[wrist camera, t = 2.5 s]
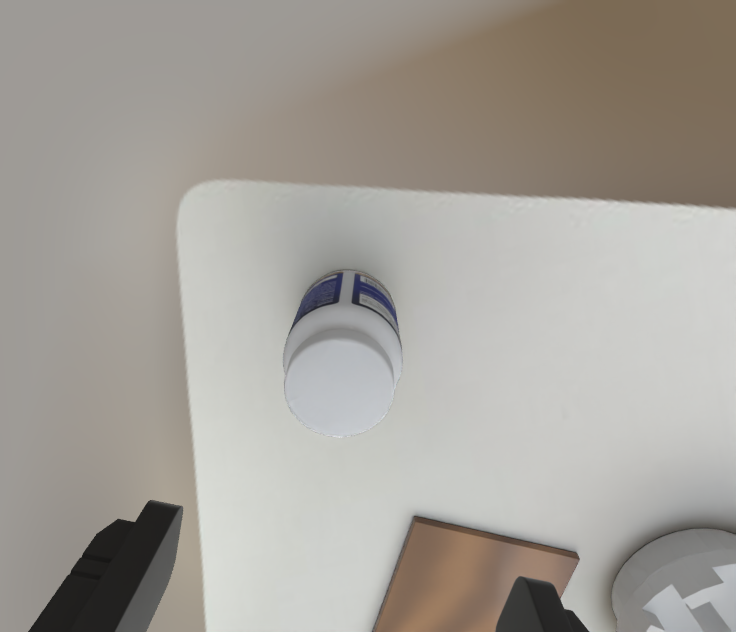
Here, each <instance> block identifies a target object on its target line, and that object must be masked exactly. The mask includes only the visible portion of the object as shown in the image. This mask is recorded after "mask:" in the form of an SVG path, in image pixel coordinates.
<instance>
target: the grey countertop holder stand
mask: <svg viewBox="0 0 736 632" xmlns="http://www.w3.org/2000/svg"><path fill="white" fill-rule="evenodd" d="M611 601H612V609H613V611H614V614H615V616H616V619H617V621H618V622H617V628H616V632H736V535H735V534H732V533H729V532H726V531H723V530H716V529H709V528H704V529H689V530H683V531H678V532H674V533H671V534H668V535H665V536H662V537H660V538H658V539H656V540H654V541H652V542H650V543H648V544H647V545H645V546H644V547H643V548H641V549H640V550H638V551H637V552H636V553H634V554H633V555H632V557H631V558H630V559H629V560H628V561H627V562H626V563H625V564H624V565H623V567H622V568H621V570H620V571H619V573H618V574H617V577H616V579H615V582H614V584H613V588H612V595H611Z"/></svg>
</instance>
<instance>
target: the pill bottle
mask: <svg viewBox="0 0 736 632" xmlns="http://www.w3.org/2000/svg"><path fill="white" fill-rule="evenodd" d="M402 363H403V356H402V347H401V341H400V335H399V329H398V323H397V317H396V311H395V307H394V303H393V300H392V298H391V296H390V294H389V292H388V291H387V290H386V288H385V287H384V286H383V285H382V284H381V283H380V282H379V281H377V280H376V279H374V278H373V277H371V276H369V275H367V274H365V273H362V272H358V271H352V270H343V271H336V272H332V273H329V274H327V275H325V276H323V277H321V278H320V279H318V280H317V281H316V282H314V283H313V284H312V285H311V287H310V288H309V289H308V290H307V292H306V294H305V295H304V297H303V299H302V301H301V304H300V307H299V309H298V312H297V314H296V317H295V319H294V322H293V325H292V327H291V330H290V332H289V335H288V337H287V340H286V344H285V347H284V353H283V367H284V372H285V375H286V376H285V383H284V392H285V398H286V401H287V404H288V406H289V408H290V410H291V412H292V413H293V415H294V416H295V417H296V418H297V419H298V420H299V421H300V422H301V423H302V424H303V425H304V426H306V427H307V428H309V429H311V430H312V431H314V432H317V433H319V434H322V435H326V436H331V437H349V436H354V435H358V434H361V433H363V432H365V431H367V430H369V429H371V428H373V427H374V426H375V425H376V424H378V423H379V422H380V421H381V420H382V419H383V417H384V416H385V415H386V414H387V412H388V410H389V408H390V406H391V404H392V401H393V397H394V391H395V387H396V385H397V383H398V381H399V378H400V375H401V371H402Z"/></svg>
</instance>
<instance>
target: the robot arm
mask: <svg viewBox="0 0 736 632" xmlns="http://www.w3.org/2000/svg"><path fill="white" fill-rule="evenodd" d="M182 515H183V507H182V506H179V505H174V504H168V503H164V502H159V501H154V500H150V501H148V503H147V504H146V505H145V507H144V509H143V510H142V512H141V513H140V515H139V517H138V518H137V520H136V522H131V521H126V520H121V519H117V520H116V521H115V522H113V523H112V524H110V525H109V526H107V527H106V528H104V529H103V530H102V531H100V532H99V533H97V534H96V536H95V537H94V539H93V540H92V541H91V543H90V544H89V546H88V547H87V549H86V550H85V551H84V553H83V555H82V557H81V558H80V559H79V560H78V561H77V563H76V564H75V566H74V567H73V569H72V570H71V573H70V575H68V576H67V577H66V579H65V580H64V581H63V583H62V584H61V586H60V587H59V589H58V590H57V592H56V593H55V595H54V596H53V597H52V599H51V600H50V602H49V603H48V604H47V606H46V607H45V609H44V610H43V611H42V613H41V614H40V616H39V617H38V619H37V620H36V622H35V623H34V625H33V626H32V627H31V629H30V630H29V631H28V632H146V631H147V629H148V626H149V624H150V622H151V620H152V618H153V615H154V614H155V611H156V609H157V607H158V605H159V603H160V600H161V598H162V596H163V594H164V592H165V590H166V587H167V585H168V582H169V579H170V577H171V574H172V571H173V567H174V563H175V559H176V553H177V547H178V540H179V534H180V527H181V521H182ZM495 632H589V631H588V630H587V628H586V627H585V626H584V625H583V623H582V622H581V621H580V620H579V618H578V617H577V616H576V615H575V613H574V612H573V611H571V610H566V609H564V607H563V605H562V603H561V600H560V598H559V595H558V593H557V590H556V588H555V586H554V585H553V584H552V583H551V582H548V581H543V580H538V579H533V578H528V577H523V576H519V577H518V578H517V579H516V580H515V582H514V584H513V587H512V589H511V591H510V594H509V596H508V598H507V601H506V603H505V605H504V608H503V610H502V612H501V614H500V617H499V619H498V622H497V625H496V630H495Z"/></svg>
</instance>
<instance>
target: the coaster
mask: <svg viewBox="0 0 736 632" xmlns="http://www.w3.org/2000/svg"><path fill="white" fill-rule="evenodd" d="M579 560H580V558H579V556H578V554H577V553H574V552H570V551H565V550H561V549H557V548H552V547H548V546H543V545H539V544H535V543H530V542H526V541H521V540H517V539H513V538H508V537H504V536H500V535H495V534H491V533H486V532H482V531H478V530H473V529H469V528H464V527H460V526H456V525H451V524H447V523H442V522H438V521H434V520H429V519H425V518H421V517H416V516H414V519H413V521H412V524H411V527H410V530H409V533H408V535H407V538H406V541H405V544H404V546H403V549H402V552H401V555H400V557H399V560H398V563H397V566H396V569H395V571H394V574H393V577H392V580H391V582H390V585H389V588H388V591H387V593H386V596H385V599H384V602H383V605H382V607H381V610H380V613H379V616H378V618H377V621H376V624H375V627H374V630H373V632H495V630H496V625H497V622H498V619H499V617H500V614H501V612H502V610H503V608H504V605H505V603H506V601H507V598H508V596H509V594H510V591H511V589H512V587H513V584H514V582H515V580H516V579H517V578H518V577H519V576H523V577H528V578H533V579H538V580H543V581H548V582H551V583H552V584H553V585H554V586H555V588H556V590H557V593H558V595H559V598H561V596H562V594H563V592H564V590H565V588H566V586H567V584H568V582H569V580H570V578H571V576H572V574H573V572H574V570H575V568H576V566H577V564H578V562H579Z"/></svg>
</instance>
